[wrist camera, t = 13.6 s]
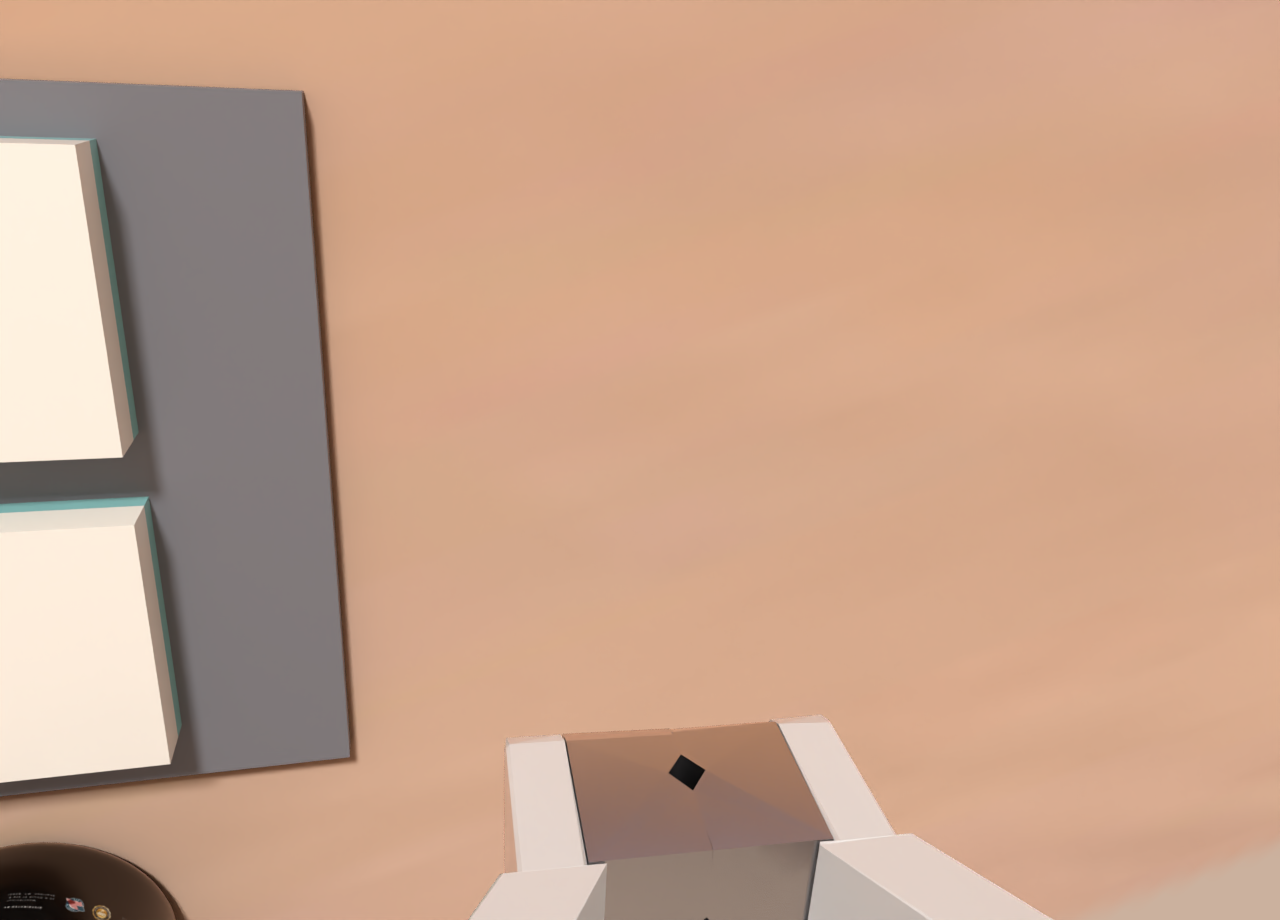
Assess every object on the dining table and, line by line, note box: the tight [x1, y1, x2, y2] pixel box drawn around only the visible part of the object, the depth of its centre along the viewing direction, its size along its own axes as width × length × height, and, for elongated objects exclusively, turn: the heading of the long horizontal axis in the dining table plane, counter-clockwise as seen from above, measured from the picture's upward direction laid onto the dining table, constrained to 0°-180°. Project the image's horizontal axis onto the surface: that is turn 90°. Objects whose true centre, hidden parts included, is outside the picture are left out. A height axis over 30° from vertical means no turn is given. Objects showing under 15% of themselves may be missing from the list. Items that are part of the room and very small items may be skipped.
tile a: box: [0, 496, 182, 783], centre depth 22 cm, size 2×6×6 cm
